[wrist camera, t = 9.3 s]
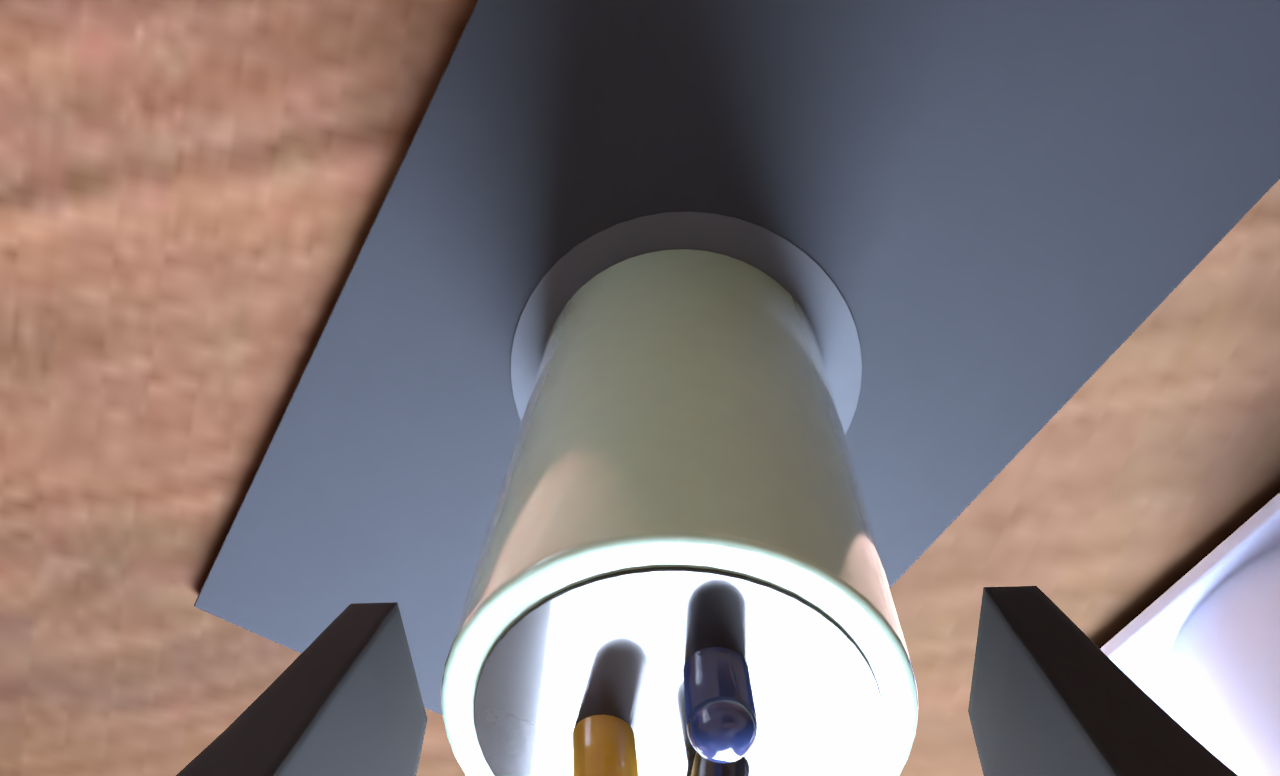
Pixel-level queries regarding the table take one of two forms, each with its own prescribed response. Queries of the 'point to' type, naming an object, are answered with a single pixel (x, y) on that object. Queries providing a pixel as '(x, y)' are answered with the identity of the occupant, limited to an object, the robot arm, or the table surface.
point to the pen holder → (680, 551)
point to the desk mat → (754, 251)
